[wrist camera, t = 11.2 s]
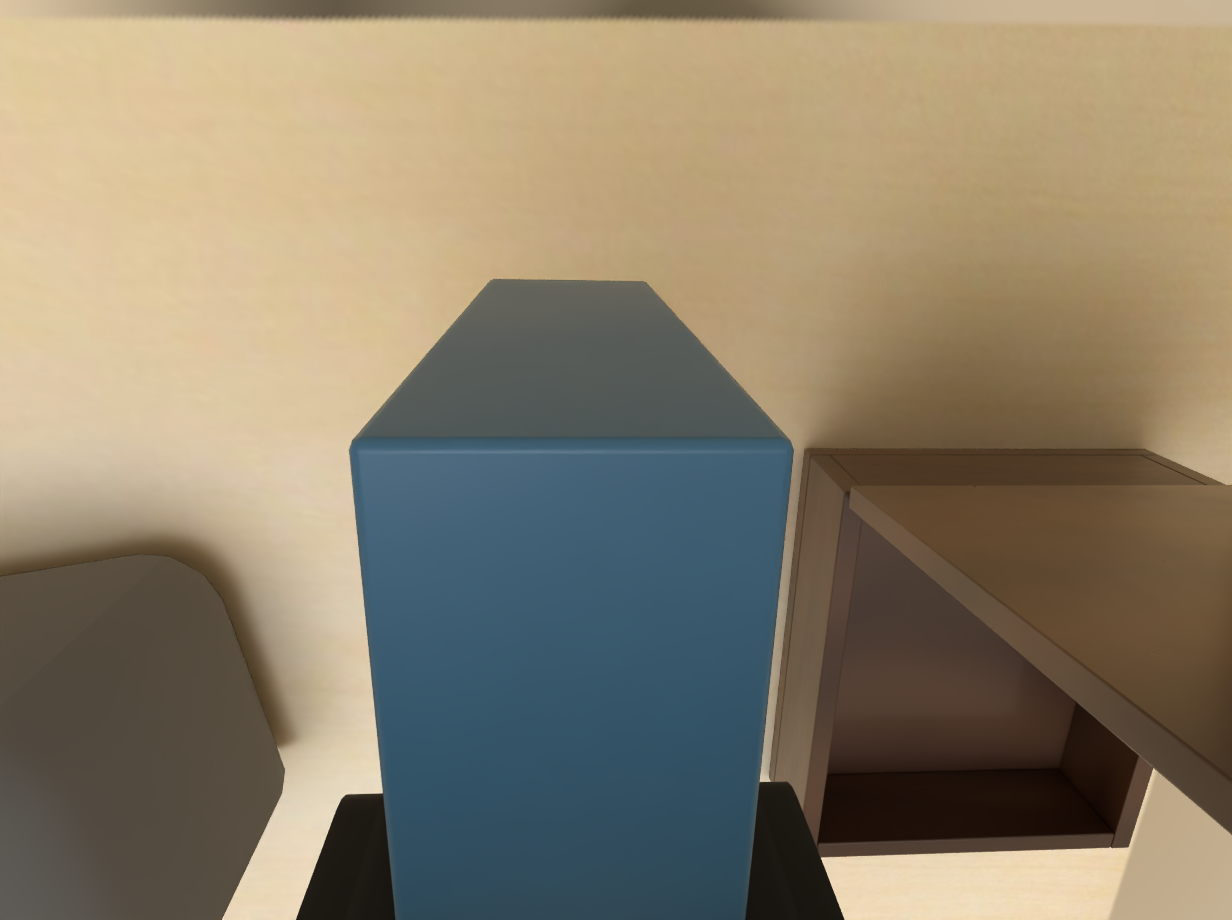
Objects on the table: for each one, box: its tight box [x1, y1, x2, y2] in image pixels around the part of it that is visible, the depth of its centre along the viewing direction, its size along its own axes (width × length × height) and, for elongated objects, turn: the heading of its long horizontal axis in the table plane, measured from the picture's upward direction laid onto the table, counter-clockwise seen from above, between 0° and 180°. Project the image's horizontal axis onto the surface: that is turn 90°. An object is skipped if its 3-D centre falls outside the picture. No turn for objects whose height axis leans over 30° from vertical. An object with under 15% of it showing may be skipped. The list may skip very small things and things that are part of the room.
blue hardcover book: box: [349, 279, 794, 920], centre depth 10 cm, size 12×2×8 cm, turn 179°
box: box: [769, 449, 1225, 857], centre depth 32 cm, size 17×15×5 cm
